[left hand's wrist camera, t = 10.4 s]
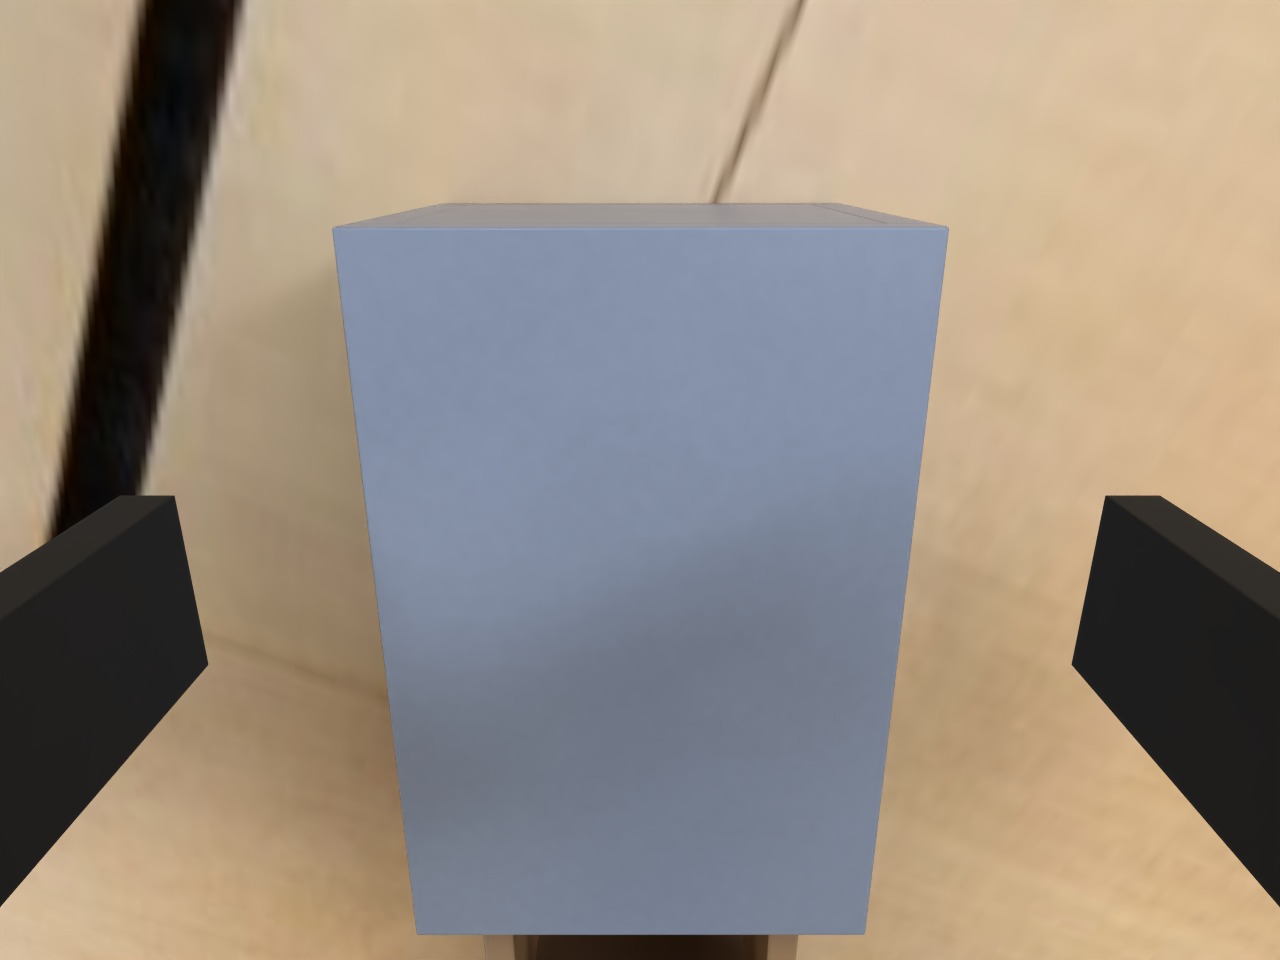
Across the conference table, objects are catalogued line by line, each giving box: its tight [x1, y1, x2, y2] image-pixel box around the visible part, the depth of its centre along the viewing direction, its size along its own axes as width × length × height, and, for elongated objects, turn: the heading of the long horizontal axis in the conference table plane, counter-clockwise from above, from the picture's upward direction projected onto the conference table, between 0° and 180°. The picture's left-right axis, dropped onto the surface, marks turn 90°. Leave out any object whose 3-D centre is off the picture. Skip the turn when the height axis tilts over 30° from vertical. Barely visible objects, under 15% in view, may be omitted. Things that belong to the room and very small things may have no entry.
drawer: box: [484, 935, 798, 960], centre depth 27 cm, size 21×10×7 cm, turn 0°
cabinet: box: [332, 203, 949, 935], centre depth 22 cm, size 17×11×9 cm, turn 0°
